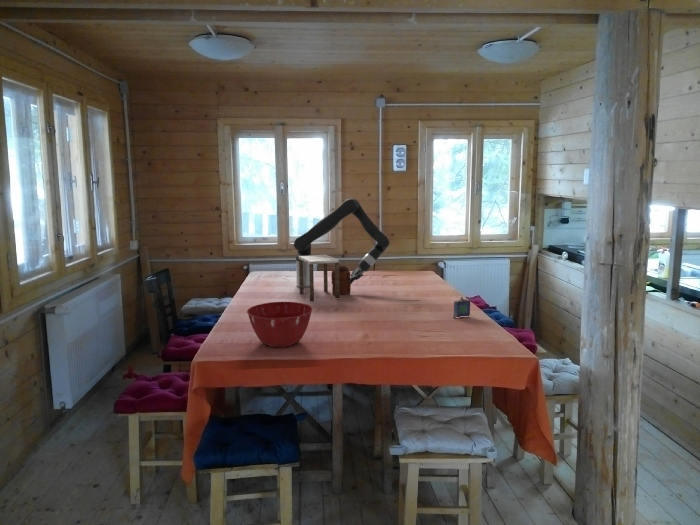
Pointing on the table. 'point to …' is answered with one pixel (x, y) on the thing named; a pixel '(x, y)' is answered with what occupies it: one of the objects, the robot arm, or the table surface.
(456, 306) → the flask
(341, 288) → the wooden figurine
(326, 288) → the stand
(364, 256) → the robot arm
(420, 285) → the table surface
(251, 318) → the mixing bowl
